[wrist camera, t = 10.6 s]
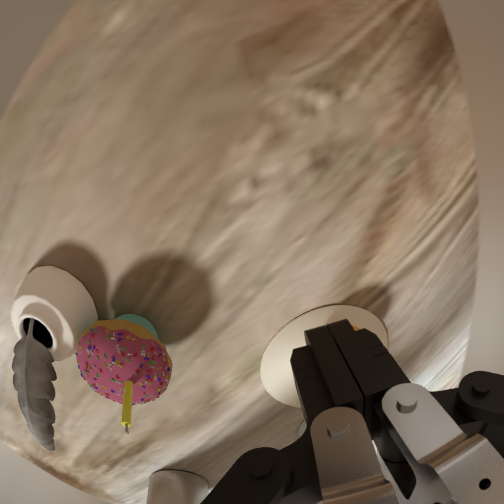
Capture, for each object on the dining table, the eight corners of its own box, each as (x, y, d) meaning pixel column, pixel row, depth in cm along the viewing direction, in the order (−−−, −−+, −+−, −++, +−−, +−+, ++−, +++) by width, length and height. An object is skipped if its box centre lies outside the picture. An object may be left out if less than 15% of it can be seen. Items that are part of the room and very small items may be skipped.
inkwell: (95, 270, 25) (44, 332, 16) (114, 408, 31) (95, 474, 22) (16, 259, 24) (-45, 307, 15) (48, 392, 30) (19, 450, 21)
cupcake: (166, 291, 27) (136, 388, 15) (186, 366, 30) (176, 465, 18) (81, 300, 26) (23, 384, 15) (109, 370, 29) (77, 459, 18)
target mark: (351, 410, 34) (351, 411, 34) (242, 399, 32) (243, 400, 32) (408, 318, 30) (409, 318, 30) (289, 290, 28) (290, 291, 27)
